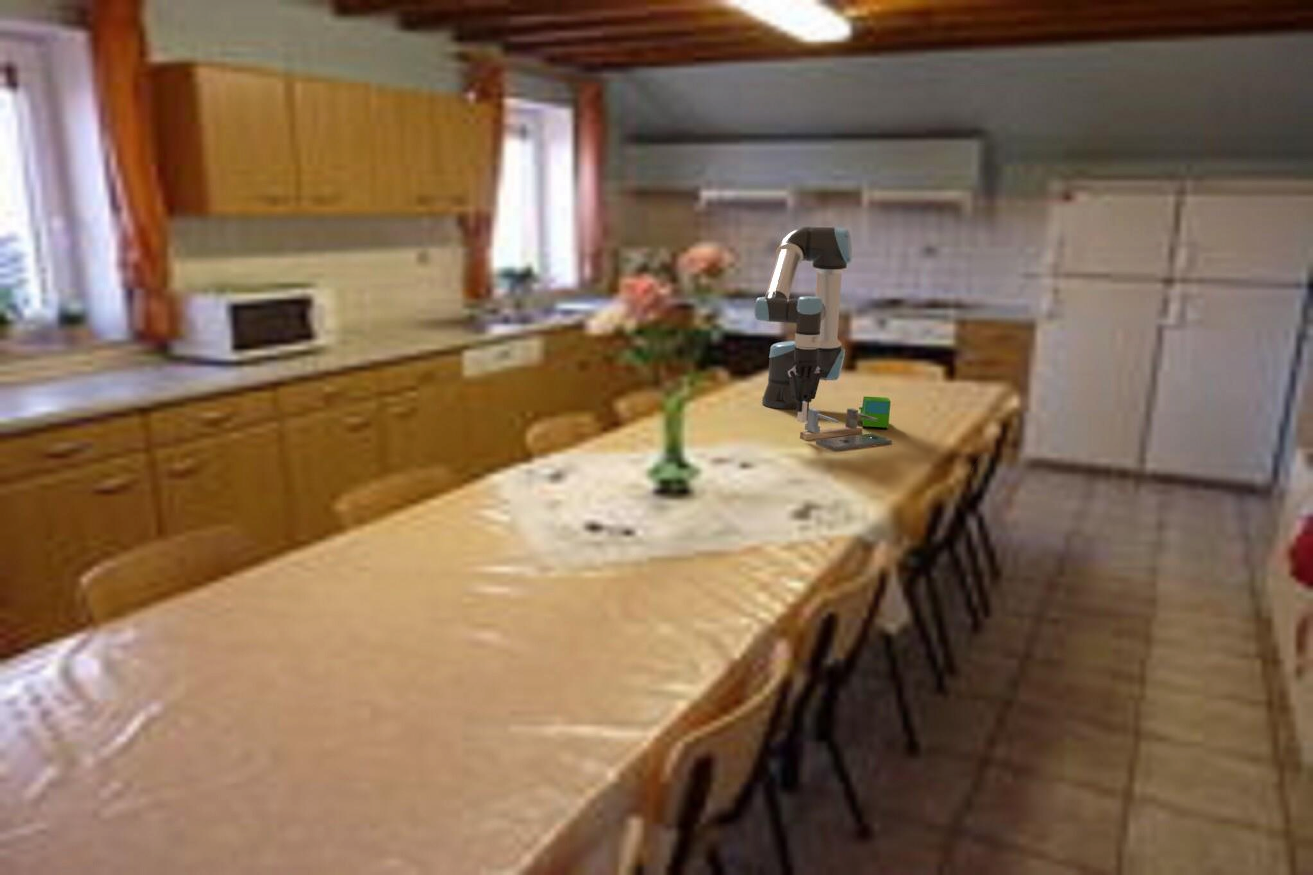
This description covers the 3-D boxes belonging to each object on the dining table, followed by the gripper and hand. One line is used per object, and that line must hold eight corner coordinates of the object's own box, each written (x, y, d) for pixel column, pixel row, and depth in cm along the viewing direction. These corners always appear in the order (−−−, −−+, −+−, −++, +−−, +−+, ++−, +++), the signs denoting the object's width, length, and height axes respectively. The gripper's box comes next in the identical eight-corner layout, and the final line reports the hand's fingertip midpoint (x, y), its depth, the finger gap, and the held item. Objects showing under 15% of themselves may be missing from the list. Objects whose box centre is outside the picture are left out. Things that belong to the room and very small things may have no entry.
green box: (885, 421, 326) (888, 393, 324) (891, 431, 313) (893, 401, 311) (856, 420, 327) (858, 392, 325) (859, 429, 314) (862, 400, 312)
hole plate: (815, 443, 293) (815, 440, 293) (872, 436, 304) (872, 433, 304) (834, 451, 286) (834, 447, 285) (891, 443, 297) (892, 439, 296)
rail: (799, 438, 300) (801, 413, 298) (855, 431, 311) (857, 407, 309) (825, 447, 289) (827, 422, 287) (882, 440, 300) (885, 416, 298)
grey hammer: (804, 429, 302) (806, 408, 300) (809, 429, 303) (811, 407, 301) (832, 439, 290) (834, 417, 288) (838, 439, 291) (839, 417, 289)
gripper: (797, 350, 285) (792, 426, 291) (831, 348, 291) (825, 422, 297) (782, 346, 291) (777, 420, 297) (816, 344, 297) (810, 417, 303)
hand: (801, 421), depth 297 cm, fingers closed
